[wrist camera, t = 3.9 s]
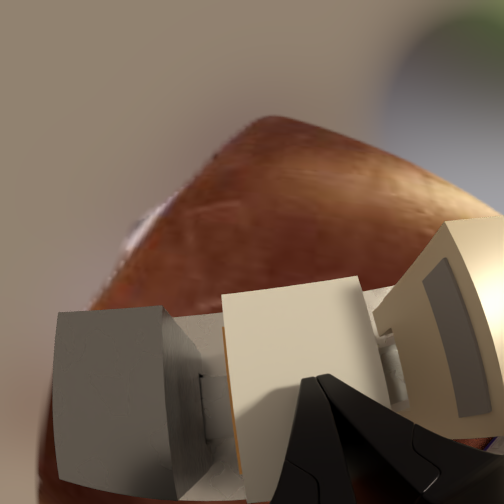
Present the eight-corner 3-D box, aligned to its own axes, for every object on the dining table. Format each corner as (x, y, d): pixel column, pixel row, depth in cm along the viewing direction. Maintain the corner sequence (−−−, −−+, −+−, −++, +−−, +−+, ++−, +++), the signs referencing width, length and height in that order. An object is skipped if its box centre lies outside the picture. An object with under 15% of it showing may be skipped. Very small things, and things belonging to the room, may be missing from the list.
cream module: (339, 447, 13) (400, 466, 6) (250, 463, 12) (242, 503, 6) (318, 336, 16) (357, 275, 10) (235, 348, 16) (216, 295, 9)
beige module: (466, 405, 10) (572, 370, 4) (395, 438, 10) (507, 437, 4) (437, 296, 14) (516, 214, 8) (368, 313, 14) (441, 221, 7)
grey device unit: (443, 437, 13) (535, 428, 5) (145, 493, 12) (67, 529, 4) (406, 287, 19) (467, 213, 12) (133, 325, 18) (64, 261, 11)
